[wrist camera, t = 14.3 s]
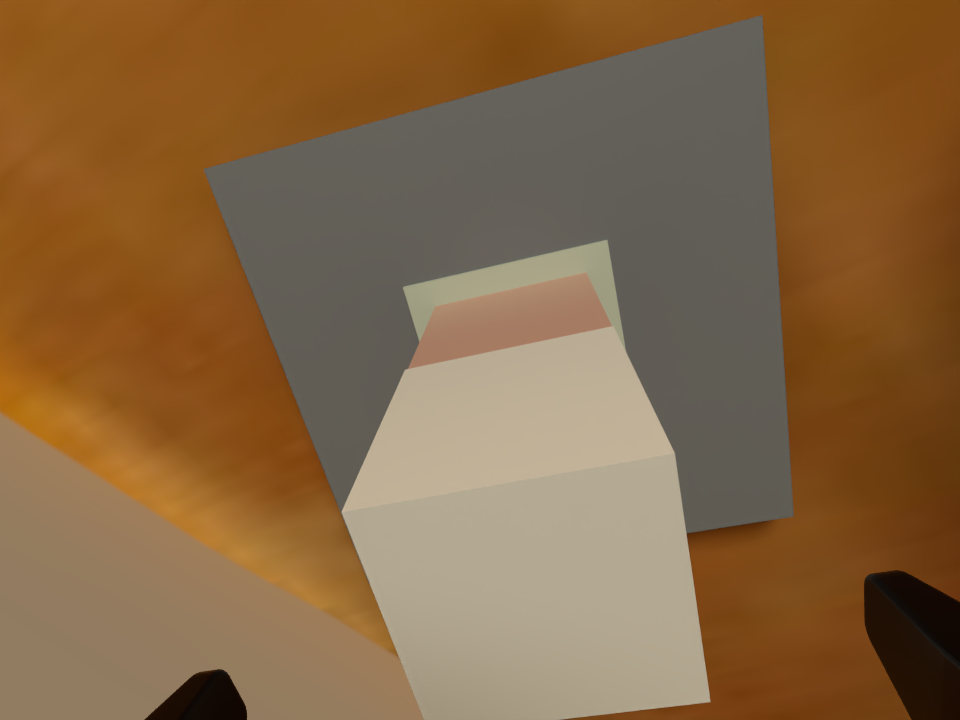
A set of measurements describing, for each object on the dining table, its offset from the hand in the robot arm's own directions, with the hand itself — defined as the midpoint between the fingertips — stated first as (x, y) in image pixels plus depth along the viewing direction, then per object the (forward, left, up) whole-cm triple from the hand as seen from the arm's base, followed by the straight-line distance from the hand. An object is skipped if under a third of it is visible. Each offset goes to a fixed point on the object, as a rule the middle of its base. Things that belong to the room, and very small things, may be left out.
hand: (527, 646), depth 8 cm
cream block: (0, 0, -6) cm, 6 cm away
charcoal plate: (0, 0, -12) cm, 12 cm away
